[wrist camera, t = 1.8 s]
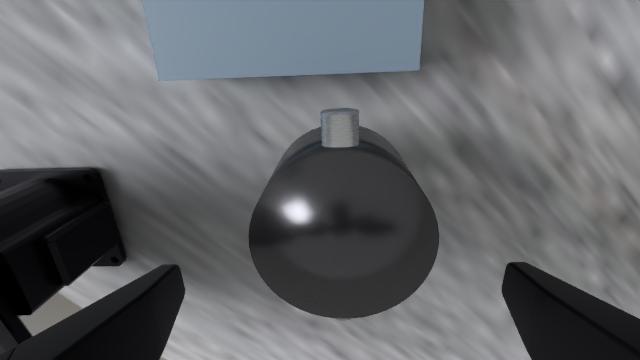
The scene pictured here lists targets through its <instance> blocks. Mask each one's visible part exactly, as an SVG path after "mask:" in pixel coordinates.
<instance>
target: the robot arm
mask: <svg viewBox="0 0 640 360" xmlns="http://www.w3.org/2000/svg"><path fill="white" fill-rule="evenodd" d="M88 175H90V176H91V177H92V179H90V178H89V176H88ZM116 257H117V258H118V259H117V258H116ZM125 261H126V253H125V250H124V247H123V244H122V241H121V238H120V234H119V231H118V228H117V225H116V222H115V218H114V215H113V212H112V209H111V206H110V203H109V199H108V196H107V193H106V190H105V187H104V184H103V180H102V177H101V175H100V173H99V172H98V171H97V170H96V169H94V168H53V169H10V170H0V360H159V359H160V357H161V355H162V353H163V351H164V348H165V346H166V343H167V341H168V338H169V336H170V333H171V330H172V328H173V325H174V322H175V320H176V317H177V314H178V312H179V309H180V306H181V304H182V301H183V298H184V295H185V286H184V282H183V278H182V274H181V270H180V267H179V266H178V265H176V264H164V265H161V266H159V267H158V268H156V269H154V270H152V271H150V272H149V273H147V274H145V275H143V276H141V277H140V278H138V279H136V280H134V281H132V282H131V283H129V284H127V285H125V286H123V287H121V288H120V289H118V290H116V291H114V292H112V293H111V294H109V295H107V296H105V297H103V298H102V299H100V300H98V301H96V302H94V303H93V304H91V305H89V306H87V307H85V308H84V309H82V310H80V311H78V312H77V313H75V314H73V315H71V316H69V317H67V318H66V319H64V320H62V321H60V322H58V323H57V324H55V325H53V326H51V327H49V328H48V329H46V330H44V331H42V332H40V333H39V334H37V335H35V336H32V334H31V333H30V331H29V330H28V329H27V327H26V326H25V325H24V323H23V322H22V321H21V319H20V316H21V315H31V314H32V313H34V312H35V311H36V310H37V309H38V308H39V307H41V306H42V305H43V304H44V303H45V302H47V301H48V300H49V299H50V298H51V297H52V296H54V295H55V294H56V293H57V292H58V291H59V290H61V289H62V288H63V287H64V286H68V285H70V284H72V283H73V282H74V281H75V280H76V279H77V278H78V277H80V276H81V275H82V274H83V273H84V272H85V271H87V270H88V269H89V268H90V267H91V266H120V265H121V264H123V263H124V262H125ZM502 294H503V297H504V300H505V302H506V304H507V307H508V309H509V311H510V313H511V316H512V318H513V320H514V323H515V325H516V327H517V329H518V332H519V334H520V336H521V339H522V341H523V343H524V345H525V347H526V349H527V352H528V353H529V355H530V357H531V359H532V360H640V319H639V318H637V317H635V316H633V315H631V314H629V313H627V312H625V311H622V310H620V309H618V308H616V307H614V306H612V305H610V304H608V303H606V302H604V301H602V300H600V299H598V298H596V297H594V296H592V295H590V294H588V293H586V292H584V291H582V290H580V289H578V288H576V287H574V286H572V285H570V284H568V283H566V282H564V281H562V280H560V279H558V278H556V277H554V276H552V275H550V274H548V273H546V272H544V271H542V270H540V269H538V268H536V267H534V266H532V265H530V264H528V263H526V262H510V263H508V264H507V266H506V269H505V274H504V279H503V283H502Z"/></svg>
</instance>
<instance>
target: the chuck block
mask: <svg viewBox="0 0 640 360" xmlns="http://www.w3.org/2000/svg"><path fill="white" fill-rule="evenodd" d="M142 4H143V9H144V14H145V18H146V23H147V27H148V32H149V37H150V41H151V46H152V50H153V55H154V60H155V64H156V69H157V73H158V78H159V81H169V80H194V79H219V78H244V77H269V76H294V75H320V74H345V73H370V72H395V71H419V67H420V52H421V38H422V24H423V10H424V0H142Z"/></svg>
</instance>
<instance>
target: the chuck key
mask: <svg viewBox="0 0 640 360" xmlns="http://www.w3.org/2000/svg"><path fill="white" fill-rule="evenodd" d="M438 246H439V231H438V223H437V220H436V216H435V213H434V211H433V208H432V206H431V204H430V202H429V200H428V199H427V197H426V196H425V194H424V193H423V191H422V189H421V188H420V186H419V185H418V183H417V182H416V180H415V178H414V177H413V175H412V174H411V172H410V171H409V169H408V167H407V166H406V164H405V163H404V161H403V160H402V158H401V157H400V155H399V154H398V152H397V150H396V149H395V148H394V147H393V146H392V145H391V144H390V143H389V142H388V141H387V140H386V139H385V138H384V137H382V136H381V135H379V134H377V133H376V132H374V131H372V130H369V129H367V128H364V127H361V126H359V110H356V109H349V108H337V109H328V110H323V111H321V127H319V128H316V129H313V130H311V131H309V132H307V133H305V134H304V135H302V136H301V137H300V138H298V139H297V140H296V141H295V142H294V143H292V144H291V145H290V147H289V148H288V149H287V150H286V152H285V153H284V155H283V156H282V158H281V160H280V162H279V163H278V165H277V167H276V169H275V171H274V173H273V175H272V177H271V178H270V180H269V182H268V184H267V186H266V188H265V190H264V192H263V193H262V195H261V197H260V199H259V201H258V203H257V205H256V207H255V210H254V212H253V214H252V218H251V222H250V228H249V247H250V251H251V256H252V259H253V262H254V264H255V267H256V269H257V271H258V272H259V274H260V276H261V277H262V279H263V280H264V281H265V283H266V284H267V285H268V286H269V287H270V288H271V290H272V291H273V292H274V293H276V294H277V295H278V296H279V297H280V298H282V299H283V300H285V301H286V302H288V303H289V304H291V305H293V306H295V307H297V308H299V309H301V310H303V311H306V312H309V313H311V314H315V315H319V316H323V317H330V318H335V319H338V320H349V319H352V318H358V317H365V316H369V315H373V314H377V313H380V312H382V311H385V310H388V309H390V308H392V307H394V306H396V305H397V304H399V303H401V302H402V301H404V300H405V299H407V298H408V297H409V296H410V295H411V294H413V293H414V292H415V291H416V290H417V289H418V288H419V287H420V285H421V284H422V283H423V282H424V280H425V279H426V277H427V276H428V274H429V272H430V271H431V269H432V267H433V264H434V262H435V259H436V256H437V251H438Z"/></svg>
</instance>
